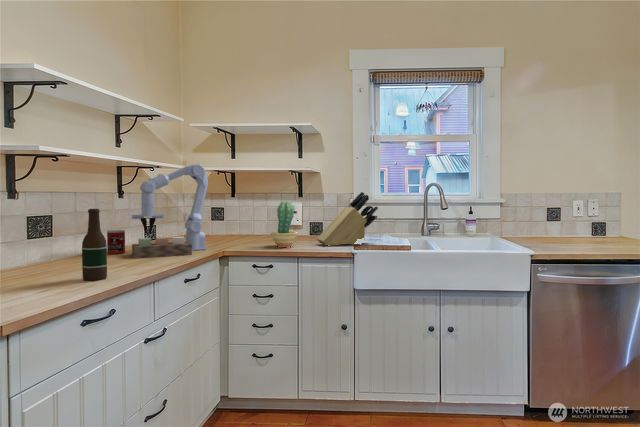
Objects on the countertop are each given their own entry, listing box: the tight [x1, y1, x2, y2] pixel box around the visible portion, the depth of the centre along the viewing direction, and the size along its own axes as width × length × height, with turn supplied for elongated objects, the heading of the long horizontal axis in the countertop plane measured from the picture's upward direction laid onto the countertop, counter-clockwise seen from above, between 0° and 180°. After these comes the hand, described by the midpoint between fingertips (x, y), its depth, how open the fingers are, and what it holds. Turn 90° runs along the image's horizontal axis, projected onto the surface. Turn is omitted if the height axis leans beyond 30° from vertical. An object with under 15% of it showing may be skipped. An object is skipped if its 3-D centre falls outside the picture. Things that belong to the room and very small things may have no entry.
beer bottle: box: [81, 208, 108, 282], centre depth 141 cm, size 8×8×24 cm
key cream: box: [171, 236, 186, 244], centre depth 200 cm, size 5×5×4 cm
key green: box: [138, 237, 152, 246], centre depth 193 cm, size 5×5×4 cm
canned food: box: [106, 229, 126, 255], centre depth 200 cm, size 8×8×11 cm
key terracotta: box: [155, 236, 169, 245], centre depth 197 cm, size 5×5×4 cm
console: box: [131, 240, 193, 259], centre depth 197 cm, size 25×13×5 cm, turn 118°
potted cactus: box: [270, 201, 299, 248], centre depth 228 cm, size 15×15×25 cm
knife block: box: [316, 191, 379, 246], centre depth 241 cm, size 11×35×31 cm, turn 112°
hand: (148, 233), depth 203 cm, fingers closed
